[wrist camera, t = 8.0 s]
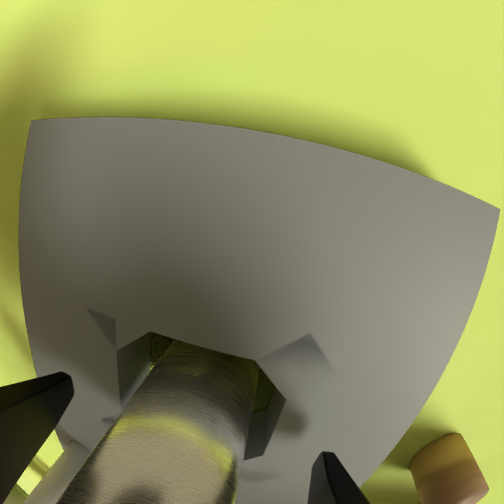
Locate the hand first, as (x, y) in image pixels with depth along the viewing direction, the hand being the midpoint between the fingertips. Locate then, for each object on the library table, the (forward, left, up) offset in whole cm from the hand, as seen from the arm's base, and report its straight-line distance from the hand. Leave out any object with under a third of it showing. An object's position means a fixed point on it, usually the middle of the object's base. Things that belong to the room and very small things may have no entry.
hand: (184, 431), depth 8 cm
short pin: (-5, -15, -4) cm, 16 cm away
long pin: (0, 0, -4) cm, 4 cm away
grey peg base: (0, 0, -4) cm, 4 cm away
